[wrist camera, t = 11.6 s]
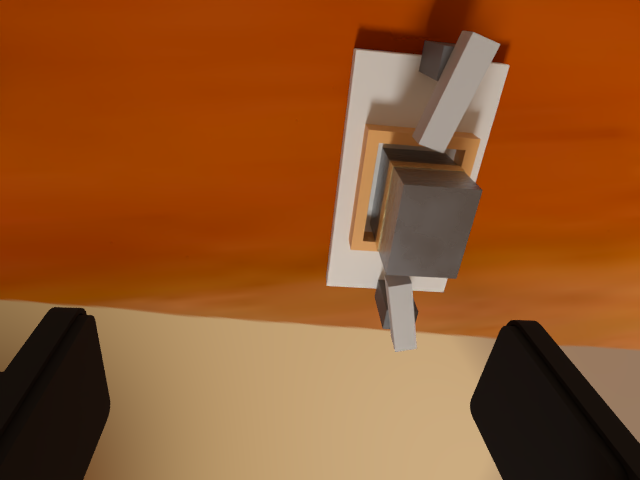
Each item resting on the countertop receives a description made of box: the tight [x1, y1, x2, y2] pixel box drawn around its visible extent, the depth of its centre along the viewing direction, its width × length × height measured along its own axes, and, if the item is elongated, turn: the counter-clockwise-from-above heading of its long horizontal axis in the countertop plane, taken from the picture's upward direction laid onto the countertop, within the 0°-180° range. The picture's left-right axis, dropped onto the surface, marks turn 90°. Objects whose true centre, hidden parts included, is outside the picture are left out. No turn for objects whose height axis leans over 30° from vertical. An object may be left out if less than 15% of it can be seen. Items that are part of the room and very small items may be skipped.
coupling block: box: [370, 148, 482, 279], centre depth 28 cm, size 5×6×7 cm
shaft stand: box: [326, 30, 509, 352], centre depth 29 cm, size 21×10×7 cm, turn 175°
